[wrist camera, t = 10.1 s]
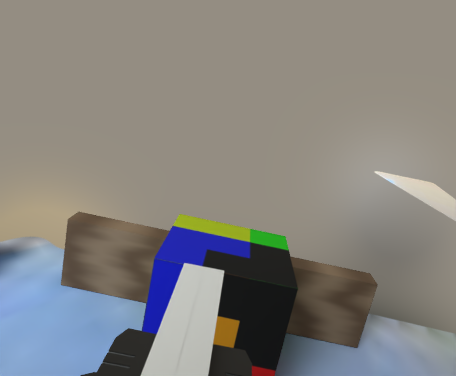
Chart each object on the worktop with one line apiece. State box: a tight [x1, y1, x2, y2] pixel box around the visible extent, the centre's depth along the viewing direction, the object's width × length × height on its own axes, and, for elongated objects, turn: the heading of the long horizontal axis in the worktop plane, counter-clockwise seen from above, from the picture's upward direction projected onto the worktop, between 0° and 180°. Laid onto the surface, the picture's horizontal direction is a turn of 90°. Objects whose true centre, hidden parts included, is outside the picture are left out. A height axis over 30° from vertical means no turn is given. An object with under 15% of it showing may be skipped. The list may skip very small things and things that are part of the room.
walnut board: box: [61, 212, 377, 348], centre depth 39 cm, size 30×2×7 cm, turn 86°
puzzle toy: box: [142, 214, 298, 376], centre depth 33 cm, size 10×10×10 cm
